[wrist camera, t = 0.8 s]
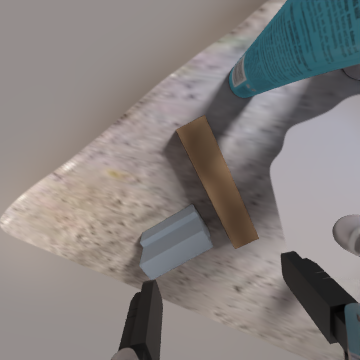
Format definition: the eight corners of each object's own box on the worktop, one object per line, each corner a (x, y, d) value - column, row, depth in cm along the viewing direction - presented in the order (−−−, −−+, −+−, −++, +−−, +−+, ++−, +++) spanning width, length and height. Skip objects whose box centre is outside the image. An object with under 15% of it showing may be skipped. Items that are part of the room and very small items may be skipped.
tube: (271, 93, 27) (495, 7, 8) (242, 112, 27) (392, 72, 9) (247, 42, 25) (466, -209, 6) (217, 64, 26) (339, -113, 7)
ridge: (192, 203, 31) (198, 224, 24) (207, 226, 32) (216, 252, 25) (142, 232, 32) (134, 260, 25) (158, 253, 33) (155, 285, 26)
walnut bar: (199, 117, 28) (204, 115, 23) (247, 223, 33) (259, 238, 28) (175, 130, 28) (176, 129, 24) (226, 233, 33) (235, 249, 29)
